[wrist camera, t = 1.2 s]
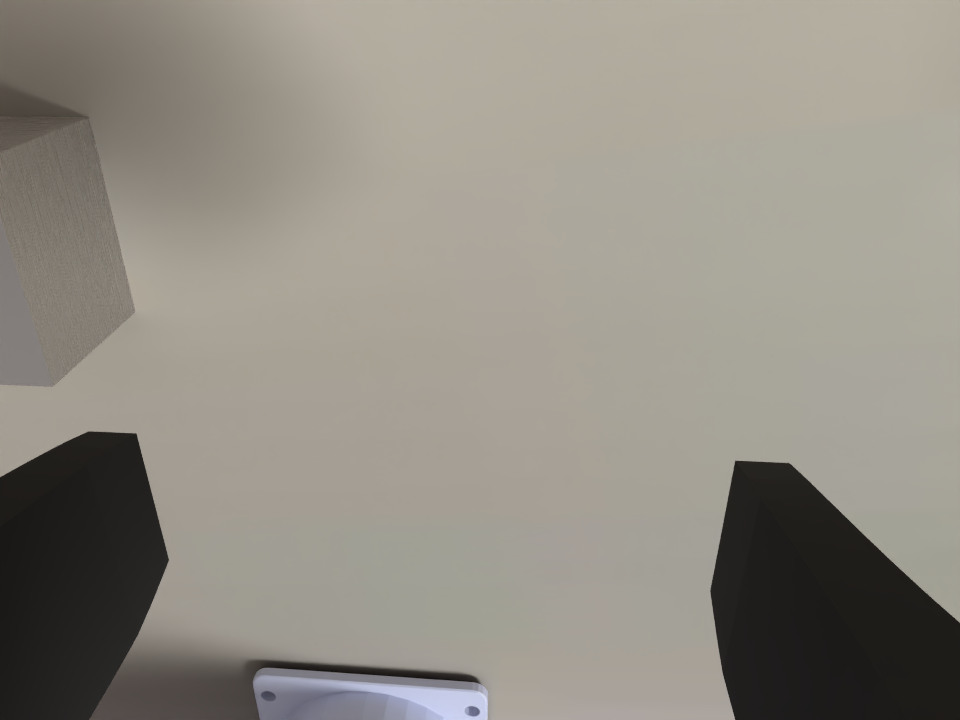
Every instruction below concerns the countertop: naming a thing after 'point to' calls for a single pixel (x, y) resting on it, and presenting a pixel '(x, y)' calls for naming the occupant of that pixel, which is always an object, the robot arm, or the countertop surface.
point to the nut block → (55, 250)
